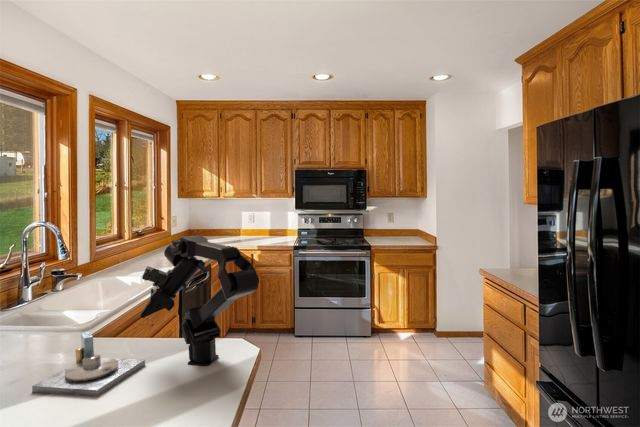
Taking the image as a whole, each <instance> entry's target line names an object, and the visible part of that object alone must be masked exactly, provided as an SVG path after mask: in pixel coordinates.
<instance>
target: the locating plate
mask: <svg viewBox="0 0 640 427" xmlns="http://www.w3.org/2000/svg"><path fill="white" fill-rule="evenodd" d="M112 358H113V359H116V360H117V361H118V368H117V369H116V370H115V371H113V372H112V373H110V374H108V375H105V376H102V377H99V378H96V379H92V380H86V381H69V380H67V379H66V378H65V371H66V370H67V369H68V368H70V367H71V366H73V365H75V364H78V363H81V362H83V351H82V347H77V348H76V349H75V362H76V363H75V364H71V365H70V366H68V367H66V368H64V369H63V370H60V371H58V372H56V373H55V374H52V375H51V376H49V377H47V378H45V379H43V380H41V381H39V382H37V383H35V384H33V385H31V389H32V390H31V391H32V393H40V394H52V395H53V394H55V395H57V394H58V395H67V396H68V395H69V396H82V397H83V396H84V397H95V398H96V397H99V396H100V395H102V394H104V393H105V392H106V391H108V390H110V389H111V388H112V387H114V386H116V385H117V384H118V383H120V382H122V381H123V380H125V379H127V377H129V376H131V375H133V374H134V373H135V372H137V371H139V370H140V369H141V368H143V367H144V366H146V359H137V358H120V357H119V358H115V357H112Z"/></svg>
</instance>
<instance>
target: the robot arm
mask: <svg viewBox="0 0 640 427" xmlns="http://www.w3.org/2000/svg"><path fill="white" fill-rule="evenodd" d="M163 253H164V257H165V259H166V260H168V262H169V263H171V265H172V266H173V268H172V269H168V271H166V272H165V271H163V270H160V269H159V268H155V267H152V266H148V265H147V266H146V268H145V270H144V272H143V274H142V276H141V279H142V280H144V281H149V282H151V283H152V286H153V287H156V288H151V289H150V298H149V300H148V302H147V303H146V305H145V307H144V308H143V310H142V311H141V313H140V315H139V317H140V318H142V319H144V318H146V317H149V316H151V315H154V314H156V313H157V312H160V311H161V310H164V309H165V310H167V311H169V312H170V311H171V310H172V309H173V308H174V306H175V299H176V297H177V294H178V293H179V292H180V291H181V290H182V289H183V288H185V287H186V286H187V284H188V282H189V281H190V280H191V279H192V278H193V277H194V276H195V275H196V274H197V272H199V270H200V271H201V272H202V273H204V272H206V262H205V261H203V259H198V258H197V257H200V258H204V259H208V260H211V261H215V262H216V263H217V265H218V266H219V267H218V273H217V278H218V280H219V282H220V287H221V288H220V289H219V290H218V291H217V292H216V293H215V294H214V295H213V296H212V297H211V298H210V299H209V300H208V301H207V302H206V303H205V304H201V305H197V306H194V307H190V308H189V309H188V310H187V312H185V313H184V317H183V319H182V321H181V330H182V333H183V334H182V335H183V339H184V342H185V344H186V345H188V360H189V361H188V362H187V365H189V366H191V365H192V366H193V365H194V366H210V365H212V363H214V362H215V361H216V360H217V359H218V358H219V357H220V356H219V354H217V351H216V349H217V348H216V338H220V336H221V329H220V327H219V325H218V323H217V320H216V319H217V318H218V317H220V315H221V314H222V313H223V312H224V311H225V310H226V309H228V308H229V307H230V306H231V305H232V304H233V303H234V302H235V301H236V300H238V299H240V298H242V297H245V296H247V295H250V294H253V293H254V292H256V291H257V290H258V288H259V283H260V278H259V275H258V274H257V272H256V269H255V267H254V266H253V264H252V263H251V261H249V260H248V259H247V258H246V257H245V256H244V255H242V254H241V252H240V250H239V248H238V247H236V246H234V245H233V246H228V245H225V244H219V243H216V242H215V243H214V242H210V241H208V238H207V237H204V236H203V235H201V234H200V235H192V236H182V237H179V239H178V240H172V242H171V244H169V245H168V246H167V247H166V248H165V249H164V251H163ZM229 263H233V264H234V265H235V266H236V267H237V268H238V269H240V270H237V271H230V272H228V271H227V267H226V266H227V264H229Z"/></svg>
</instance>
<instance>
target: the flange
mask: <svg viewBox="0 0 640 427" xmlns="http://www.w3.org/2000/svg"><path fill="white" fill-rule="evenodd" d="M80 339H81V342H80V343H81V346H80V347H81V348H82V351H83V362H81V363H78V364H76V363H75V365H74V364H72V365H73V366H72V365H70V366H71V367H70V366H69V367H70V368H68V367H67V368H68V369H67V370H66V371H65V378H66V379H67V380H69V381H86V380H92V379H96V378H99V377H102V376H105V375H108V374H110V373H112V372H113V371H115V370H116V369H117V368H118V361H117V360H116V359H113V358H114V357H101V355H100V354H95V353H94V352H95V350H94V349H95V348H94V336H93V335H92V334H91V332H90V331H87V332H83V333H80Z"/></svg>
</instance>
